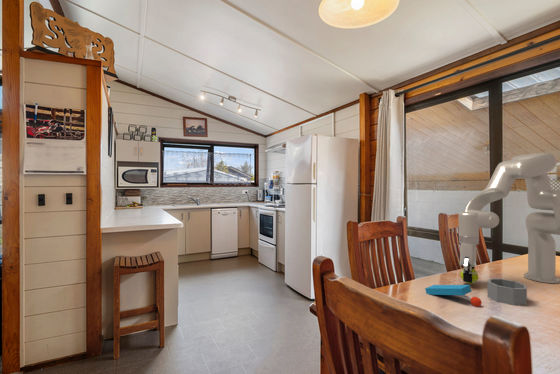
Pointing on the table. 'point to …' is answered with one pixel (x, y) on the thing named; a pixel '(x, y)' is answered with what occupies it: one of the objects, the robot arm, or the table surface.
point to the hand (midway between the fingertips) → (469, 279)
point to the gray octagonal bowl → (507, 291)
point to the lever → (453, 292)
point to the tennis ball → (474, 275)
